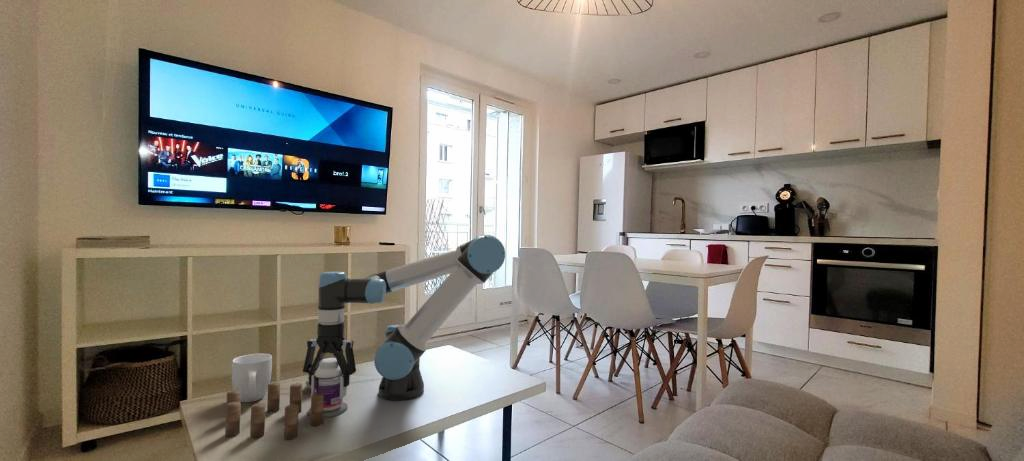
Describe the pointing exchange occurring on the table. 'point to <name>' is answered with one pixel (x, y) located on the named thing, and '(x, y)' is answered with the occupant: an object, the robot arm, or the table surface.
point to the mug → (251, 376)
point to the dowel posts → (272, 406)
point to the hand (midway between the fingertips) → (328, 396)
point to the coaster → (333, 411)
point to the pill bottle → (329, 383)
